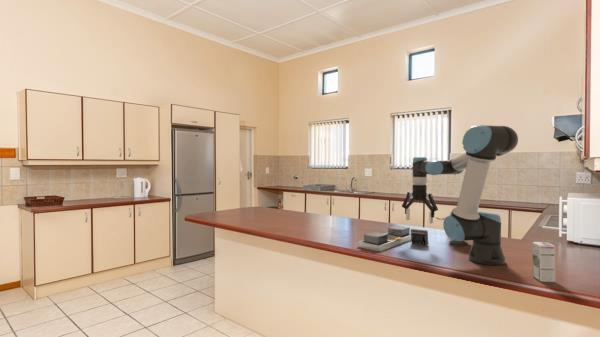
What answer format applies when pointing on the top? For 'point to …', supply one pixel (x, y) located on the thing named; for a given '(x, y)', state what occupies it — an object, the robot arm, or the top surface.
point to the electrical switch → (419, 237)
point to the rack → (386, 238)
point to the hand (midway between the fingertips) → (419, 221)
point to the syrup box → (544, 261)
